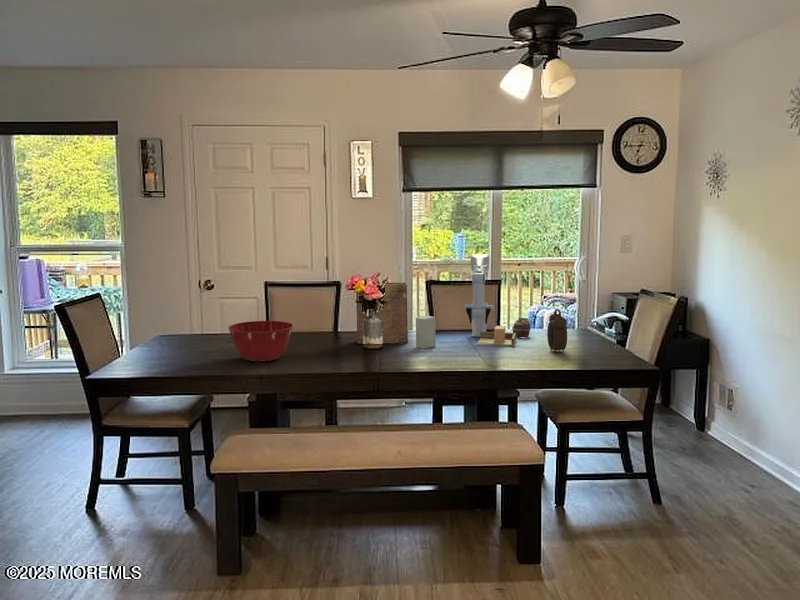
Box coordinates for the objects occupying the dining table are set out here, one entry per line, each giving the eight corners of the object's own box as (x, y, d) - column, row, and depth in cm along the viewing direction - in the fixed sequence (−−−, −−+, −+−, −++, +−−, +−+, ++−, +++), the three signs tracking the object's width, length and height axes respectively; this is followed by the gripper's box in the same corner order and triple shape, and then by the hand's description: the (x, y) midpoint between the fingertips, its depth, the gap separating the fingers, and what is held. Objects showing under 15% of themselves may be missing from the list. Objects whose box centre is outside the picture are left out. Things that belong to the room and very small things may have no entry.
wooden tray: (480, 339, 332) (480, 331, 331) (515, 340, 328) (516, 333, 327) (476, 345, 316) (476, 337, 316) (513, 346, 312) (514, 338, 312)
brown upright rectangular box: (406, 340, 332) (405, 282, 328) (407, 343, 323) (407, 284, 319) (357, 341, 330) (356, 283, 327) (357, 344, 321) (356, 285, 317)
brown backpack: (544, 348, 307) (545, 307, 304) (560, 348, 307) (560, 307, 304) (552, 355, 292) (553, 311, 290) (568, 355, 293) (569, 311, 290)
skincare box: (428, 344, 319) (427, 315, 317) (436, 346, 315) (436, 316, 313) (415, 347, 314) (415, 317, 312) (423, 349, 309) (423, 318, 307)
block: (494, 342, 317) (494, 328, 316) (496, 339, 326) (496, 325, 325) (503, 343, 316) (503, 329, 315) (504, 339, 324) (505, 326, 324)
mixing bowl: (306, 358, 291) (305, 324, 289) (252, 369, 271) (250, 333, 269) (271, 350, 310) (270, 318, 308) (217, 359, 290) (216, 326, 288)
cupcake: (516, 334, 345) (516, 316, 344) (533, 336, 340) (533, 317, 338) (508, 337, 338) (508, 318, 336) (525, 339, 332) (526, 319, 331)
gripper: (463, 297, 322) (463, 324, 324) (492, 297, 319) (492, 324, 320) (464, 295, 329) (464, 321, 330) (493, 296, 326) (493, 322, 327)
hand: (478, 323), depth 326 cm, fingers open, 7 cm apart
